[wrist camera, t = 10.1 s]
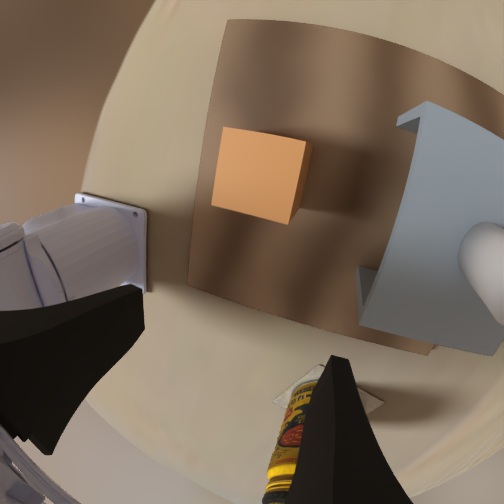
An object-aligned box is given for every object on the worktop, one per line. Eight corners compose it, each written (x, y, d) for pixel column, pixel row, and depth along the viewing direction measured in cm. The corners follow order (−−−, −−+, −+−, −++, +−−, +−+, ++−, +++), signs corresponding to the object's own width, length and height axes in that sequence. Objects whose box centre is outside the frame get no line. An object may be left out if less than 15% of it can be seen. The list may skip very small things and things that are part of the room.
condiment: (318, 362, 21) (287, 493, 11) (385, 401, 21) (381, 514, 10) (272, 399, 25) (231, 502, 14) (334, 431, 24) (314, 527, 13)
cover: (355, 273, 17) (359, 379, 8) (398, 116, 12) (462, 81, 4) (464, 306, 15) (511, 400, 7) (512, 171, 11) (605, 201, 3)
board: (191, 280, 22) (187, 285, 21) (231, 23, 14) (227, 19, 13) (425, 349, 18) (427, 355, 17) (508, 102, 10) (513, 101, 9)
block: (238, 192, 17) (211, 205, 14) (248, 131, 16) (223, 126, 12) (299, 208, 17) (288, 224, 13) (313, 144, 15) (306, 141, 11)
